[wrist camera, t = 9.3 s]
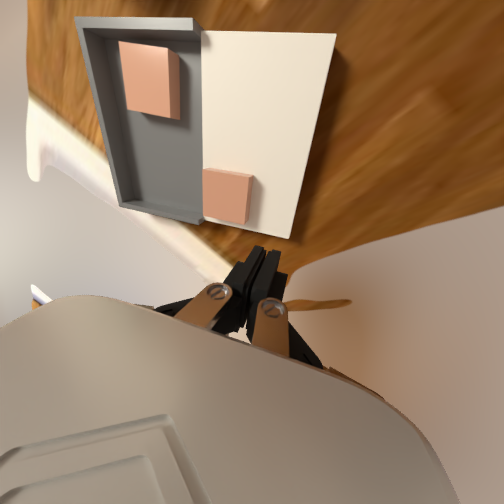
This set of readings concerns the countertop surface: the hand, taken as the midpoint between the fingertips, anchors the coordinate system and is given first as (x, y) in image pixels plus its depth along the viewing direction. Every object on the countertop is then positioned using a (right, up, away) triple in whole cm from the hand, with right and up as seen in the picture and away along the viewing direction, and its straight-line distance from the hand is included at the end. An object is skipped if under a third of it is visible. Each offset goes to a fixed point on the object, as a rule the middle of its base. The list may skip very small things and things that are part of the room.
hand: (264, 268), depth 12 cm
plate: (0, +14, +13) cm, 19 cm away
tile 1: (-12, +21, +11) cm, 27 cm away
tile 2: (-4, +9, +14) cm, 17 cm away
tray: (-13, +17, +15) cm, 27 cm away
